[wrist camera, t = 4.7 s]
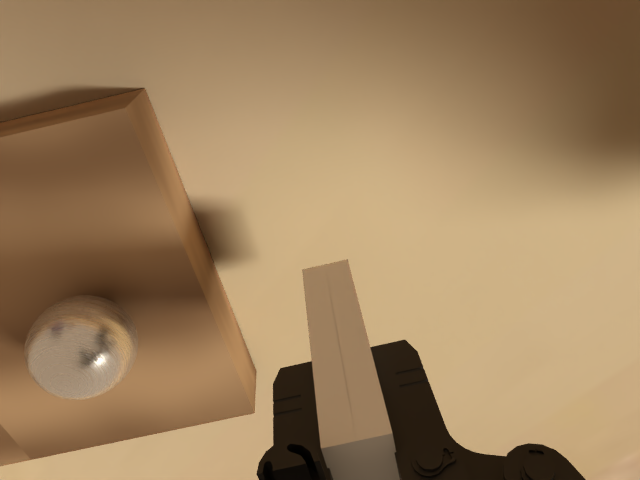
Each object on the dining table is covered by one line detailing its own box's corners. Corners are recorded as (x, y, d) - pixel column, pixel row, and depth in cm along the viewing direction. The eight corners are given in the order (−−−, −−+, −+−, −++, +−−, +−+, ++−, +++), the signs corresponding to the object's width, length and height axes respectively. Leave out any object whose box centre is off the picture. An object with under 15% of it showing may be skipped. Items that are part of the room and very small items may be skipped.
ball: (31, 287, 17) (-21, 357, 14) (125, 266, 17) (93, 332, 14) (77, 356, 19) (39, 431, 16) (162, 338, 19) (140, 410, 16)
